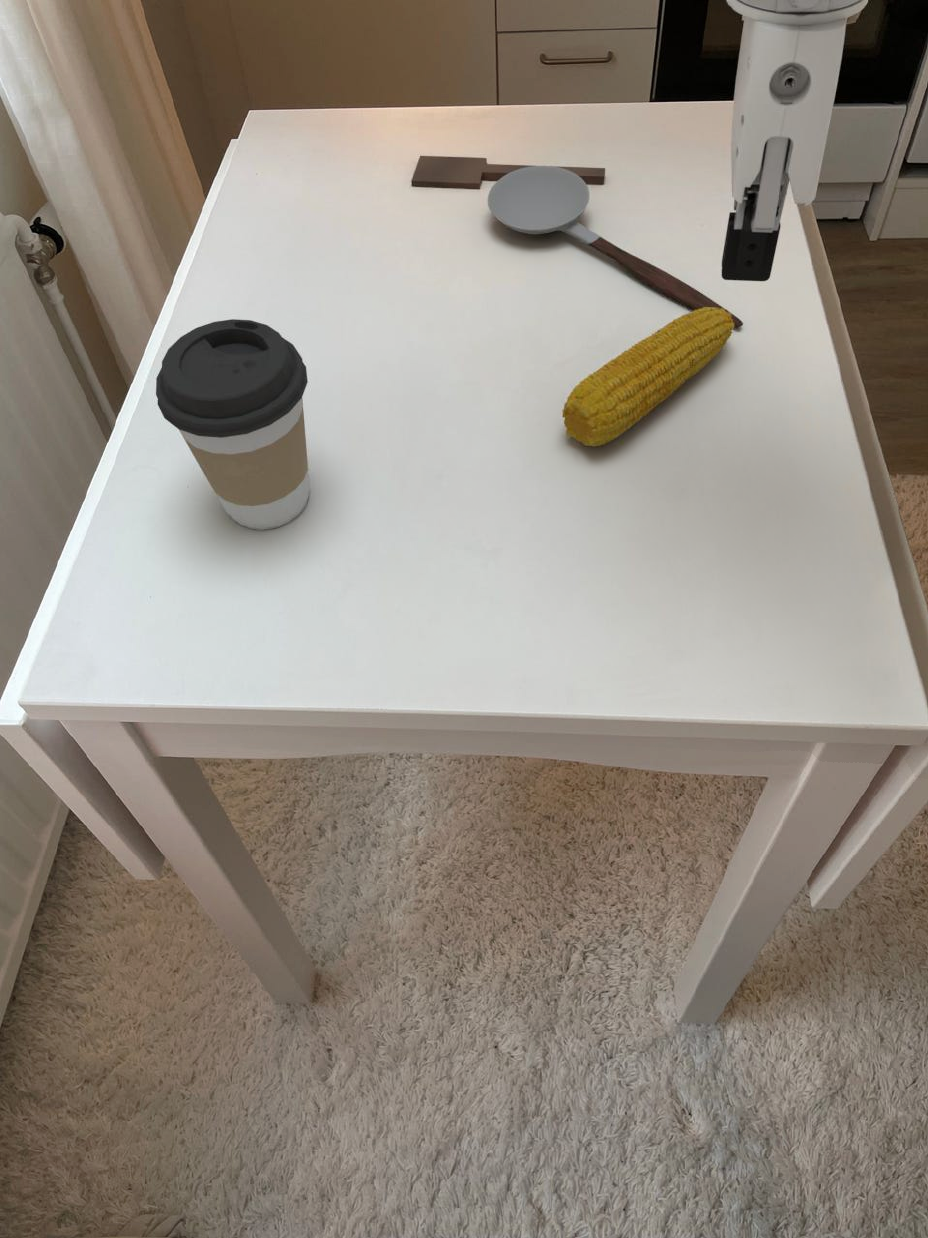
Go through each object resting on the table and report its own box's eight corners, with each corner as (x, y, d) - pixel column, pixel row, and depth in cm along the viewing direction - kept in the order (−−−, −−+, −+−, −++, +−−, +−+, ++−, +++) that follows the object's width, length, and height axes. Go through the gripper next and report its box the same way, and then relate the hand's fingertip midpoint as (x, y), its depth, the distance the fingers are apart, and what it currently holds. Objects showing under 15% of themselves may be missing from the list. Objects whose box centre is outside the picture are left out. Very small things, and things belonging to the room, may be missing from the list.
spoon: (538, 177, 109) (538, 152, 106) (774, 310, 95) (780, 285, 92) (468, 224, 106) (466, 200, 103) (702, 369, 91) (706, 345, 89)
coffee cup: (353, 465, 84) (325, 321, 72) (302, 562, 77) (262, 422, 65) (236, 442, 86) (190, 300, 74) (178, 534, 80) (116, 394, 68)
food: (601, 468, 82) (606, 415, 77) (551, 438, 84) (553, 385, 80) (742, 349, 90) (754, 294, 86) (693, 325, 93) (702, 270, 88)
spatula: (606, 167, 111) (606, 158, 110) (602, 193, 108) (603, 184, 107) (420, 160, 114) (419, 152, 113) (411, 186, 110) (410, 177, 110)
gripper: (889, 25, 46) (806, 344, 60) (864, -85, 55) (797, 216, 69) (729, 26, 47) (685, 338, 62) (729, -82, 56) (691, 213, 70)
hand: (744, 273), depth 65 cm, fingers closed
